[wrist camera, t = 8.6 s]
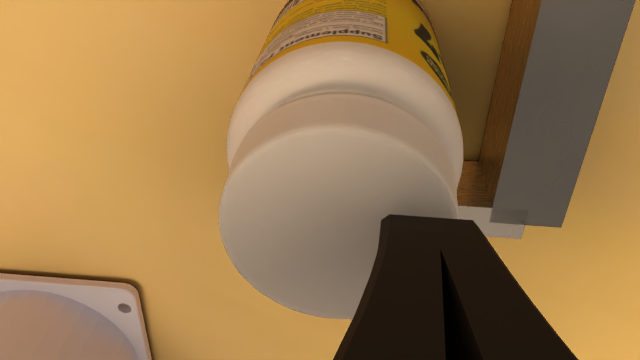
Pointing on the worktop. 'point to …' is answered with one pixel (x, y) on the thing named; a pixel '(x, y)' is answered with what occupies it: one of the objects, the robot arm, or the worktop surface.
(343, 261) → the supplement bottle
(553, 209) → the jig
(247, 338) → the worktop surface
